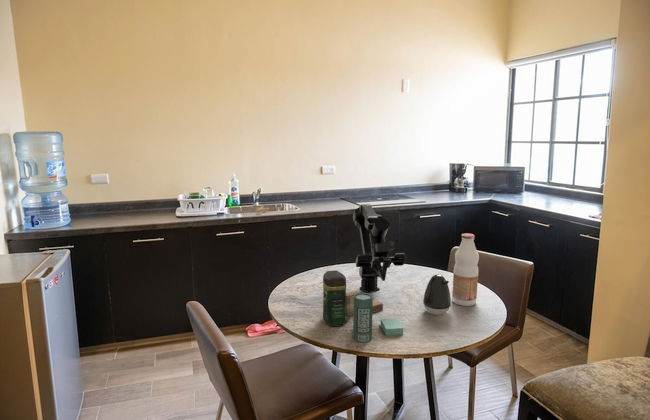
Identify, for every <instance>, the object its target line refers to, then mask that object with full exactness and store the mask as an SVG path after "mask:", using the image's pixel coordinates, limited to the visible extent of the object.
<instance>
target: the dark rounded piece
mask: <svg viewBox="0 0 650 420" xmlns="http://www.w3.org/2000/svg"><path fill="white" fill-rule="evenodd" d="M448 284H449V280H446V278H445V276H443V275H441V274H434V275H432V276H431V278H430V279H429V280H428V283H427V285H426V287H425V291H424V294H423V300H422V302H423V305H424V309H425V311H427V313H429V314H430V315H433V316H442V315H445V314H447V313H448V311H449V310H450V307H451V305H452V299H451V298H452V297H451V293H450V292H451V291H450V288H449V285H448Z"/></svg>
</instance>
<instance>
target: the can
mask: <svg viewBox="0 0 650 420" xmlns="http://www.w3.org/2000/svg"><path fill="white" fill-rule="evenodd" d="M373 299H374V297H373V295H372V294H370V293H368V292H360V293H357V294H355V295H354V314H353V319H352V320H353V324H352V325H353V326H352V327H353V329H352V331H353V332H352V334H353V337H352V338H353V340H354V341H356V342H358V343H368V342H371V341H372V340H373V312H372V309H373Z"/></svg>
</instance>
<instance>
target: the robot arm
mask: <svg viewBox="0 0 650 420" xmlns="http://www.w3.org/2000/svg"><path fill="white" fill-rule="evenodd" d="M352 219H353V222H354V225H355V227H356V228H357V229H358V230H359V234H360V235H359V236H360V240H361V241H360V242H361V246H362V254H359V253H358V254H357V256H356V259H355V267H357V268H358V269H359V270H358V272H359V273H358V275H359V277H360V278H361V280H360V287H358V288H359V289H360V290H362V291H364V292H365V293H368V294H370V293H373V292H376V291H379V290H380V287H378V278H380V279H381V281H382V282H385V281H386V276H387V270H388V268H390V267H391V264H393V265H394V266H395V267H397V266H399V267H400V266H401V267H402V266H404V265H405V263H406V260H407V255H406V254H405V253H404V252H396V253H394V254H393V256H389V255H390V252H391V251H394V249H395V242H394V241H393V240H389V241H387V242H386V235H387V232H388V230H389V227H390V222H389V221H388V219H386V218H384V217H383V215H381V214H379V213H378V214H377V213H376V212H375V211H374V209H373V207H372V204H370V203H367V204H363V203H362V204H360V205H359V207H357V208H356V209H355V210H353V215H352Z"/></svg>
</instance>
